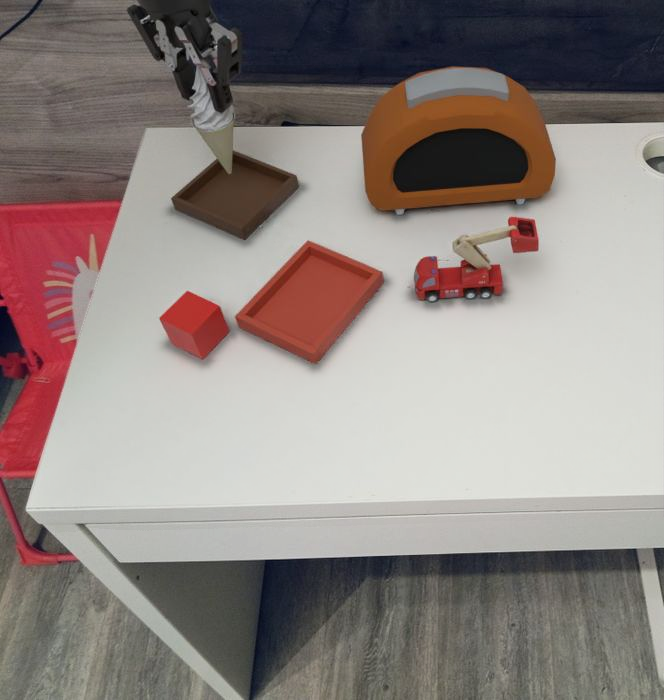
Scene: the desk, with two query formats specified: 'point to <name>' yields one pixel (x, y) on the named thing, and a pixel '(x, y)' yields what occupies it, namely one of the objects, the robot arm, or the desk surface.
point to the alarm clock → (455, 142)
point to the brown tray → (236, 194)
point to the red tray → (310, 301)
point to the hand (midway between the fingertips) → (207, 101)
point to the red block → (194, 324)
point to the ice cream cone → (212, 122)
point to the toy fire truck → (473, 264)
